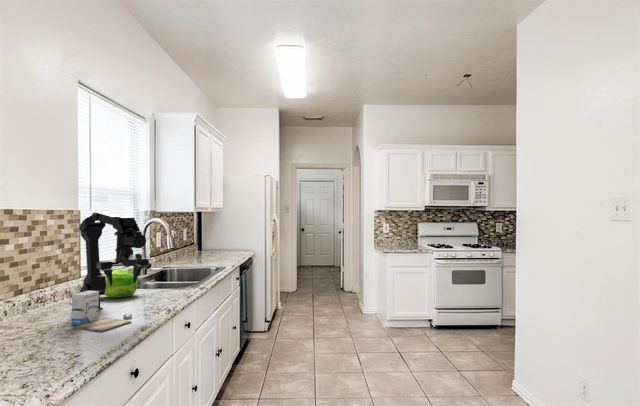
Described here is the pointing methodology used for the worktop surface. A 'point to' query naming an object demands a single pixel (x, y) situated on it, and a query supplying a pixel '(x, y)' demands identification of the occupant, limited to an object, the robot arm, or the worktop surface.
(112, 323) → the walnut board
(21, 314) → the worktop surface
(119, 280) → the lettuce
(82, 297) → the ink box
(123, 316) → the silver domed disc
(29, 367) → the worktop surface
